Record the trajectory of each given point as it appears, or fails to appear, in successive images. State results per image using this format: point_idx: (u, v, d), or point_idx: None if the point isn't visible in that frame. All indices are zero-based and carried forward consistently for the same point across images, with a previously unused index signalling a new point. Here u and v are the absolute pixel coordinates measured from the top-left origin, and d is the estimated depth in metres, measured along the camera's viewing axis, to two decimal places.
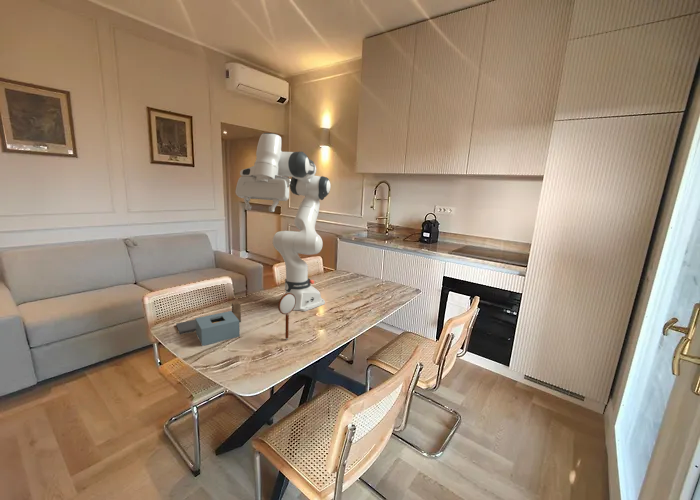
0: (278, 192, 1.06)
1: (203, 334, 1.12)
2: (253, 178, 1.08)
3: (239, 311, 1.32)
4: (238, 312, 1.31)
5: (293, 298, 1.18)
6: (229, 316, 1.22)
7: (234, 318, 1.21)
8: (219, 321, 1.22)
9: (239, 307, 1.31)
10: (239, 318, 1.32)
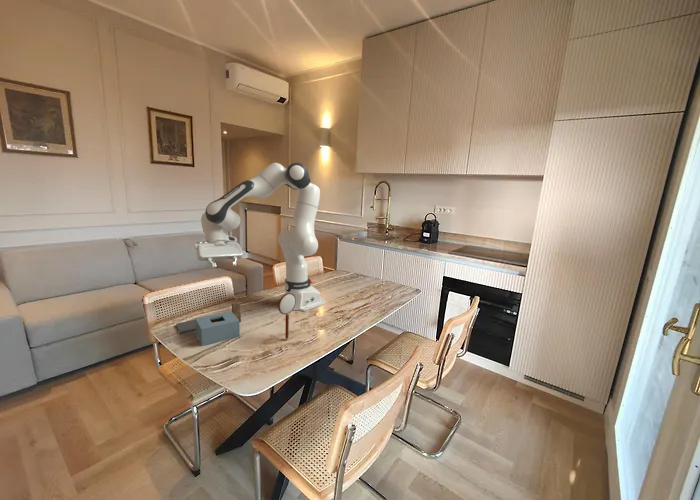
0: None
1: (203, 334, 1.12)
2: None
3: (239, 311, 1.32)
4: (238, 312, 1.31)
5: (293, 298, 1.18)
6: (229, 316, 1.22)
7: (234, 318, 1.21)
8: (219, 321, 1.22)
9: (239, 307, 1.31)
10: (239, 318, 1.32)
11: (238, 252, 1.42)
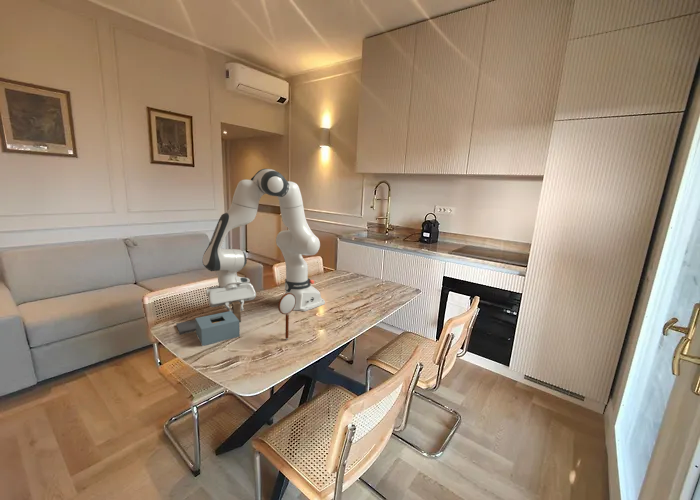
0: None
1: (203, 334, 1.12)
2: None
3: (239, 311, 1.32)
4: (238, 312, 1.31)
5: (293, 298, 1.18)
6: (229, 316, 1.22)
7: (234, 318, 1.21)
8: (219, 321, 1.22)
9: (239, 307, 1.31)
10: (239, 318, 1.32)
11: (251, 294, 1.38)
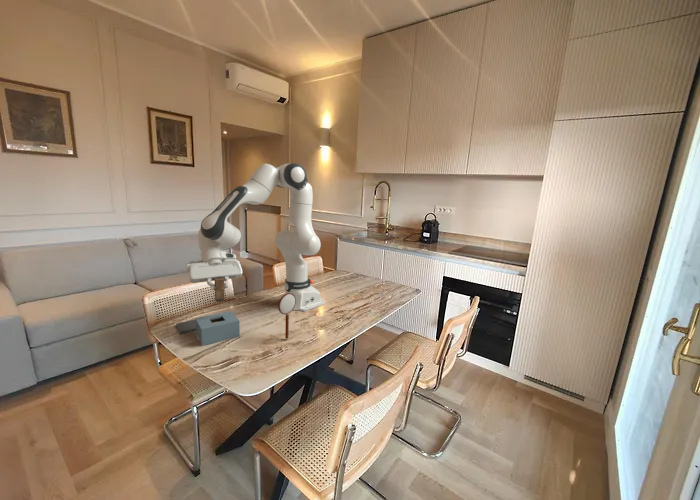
0: None
1: (203, 334, 1.12)
2: None
3: (223, 288, 1.19)
4: (221, 289, 1.19)
5: (293, 298, 1.18)
6: (229, 316, 1.22)
7: (234, 318, 1.21)
8: (219, 321, 1.22)
9: (223, 284, 1.19)
10: (222, 296, 1.20)
11: (236, 271, 1.25)
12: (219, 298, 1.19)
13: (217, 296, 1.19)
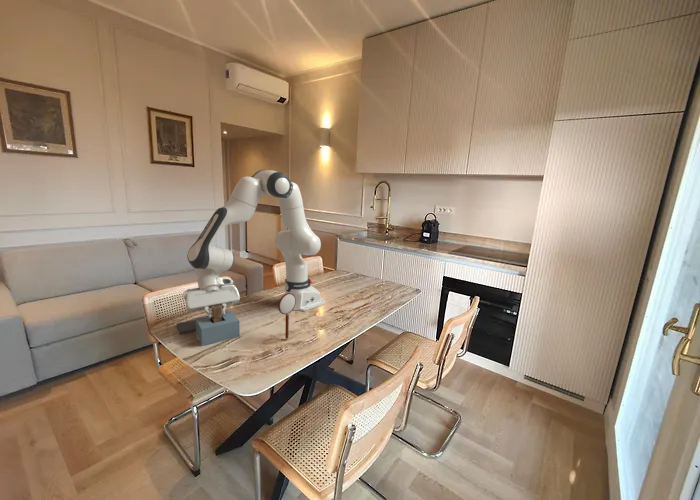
0: None
1: (203, 334, 1.12)
2: None
3: (220, 316, 1.18)
4: (219, 317, 1.18)
5: (293, 298, 1.18)
6: (229, 316, 1.22)
7: (234, 318, 1.21)
8: None
9: (220, 311, 1.18)
10: None
11: (234, 297, 1.24)
12: None
13: None
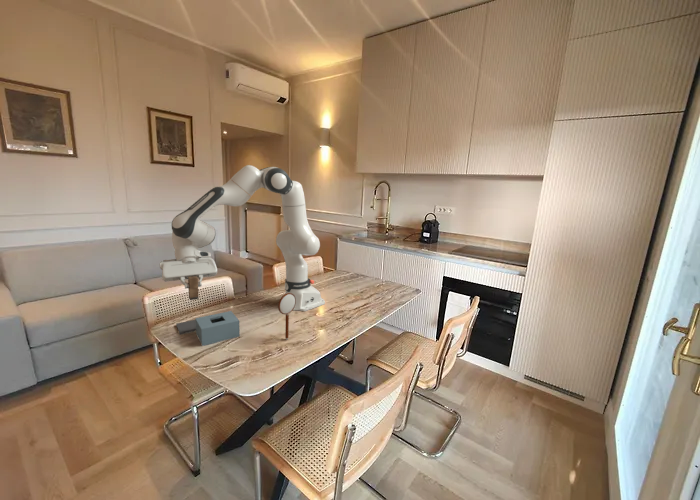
0: None
1: (203, 334, 1.12)
2: None
3: (196, 286, 1.19)
4: (195, 288, 1.19)
5: (293, 298, 1.18)
6: (229, 316, 1.22)
7: (234, 318, 1.21)
8: None
9: (196, 282, 1.19)
10: (196, 294, 1.20)
11: (211, 269, 1.25)
12: (193, 296, 1.19)
13: (191, 294, 1.19)
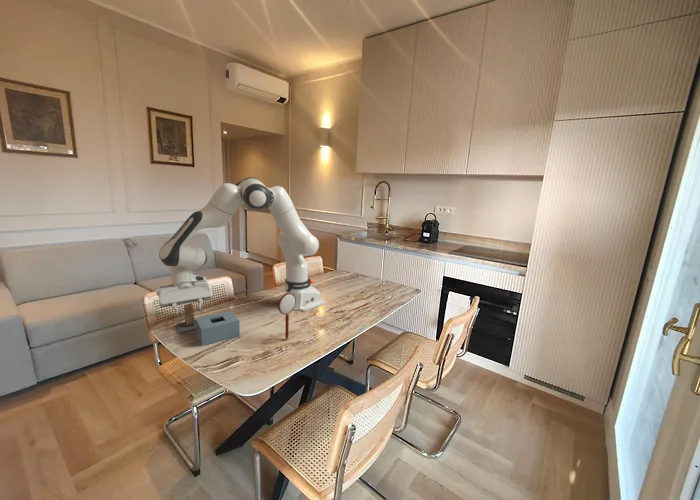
0: None
1: (203, 334, 1.12)
2: None
3: (192, 314, 1.24)
4: (191, 315, 1.24)
5: (293, 298, 1.18)
6: (229, 316, 1.22)
7: (234, 318, 1.21)
8: None
9: (192, 310, 1.24)
10: (192, 321, 1.25)
11: (206, 293, 1.30)
12: (189, 324, 1.24)
13: (187, 322, 1.23)
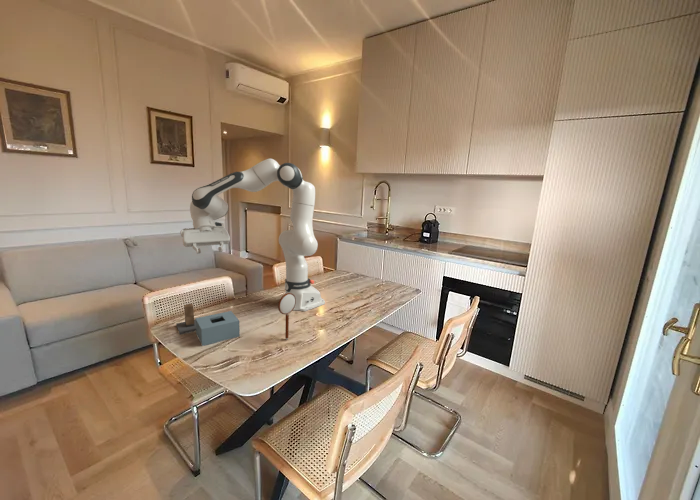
0: None
1: (203, 334, 1.12)
2: None
3: (192, 314, 1.24)
4: (191, 315, 1.24)
5: (293, 298, 1.18)
6: (229, 316, 1.22)
7: (234, 318, 1.21)
8: None
9: (192, 310, 1.24)
10: (192, 321, 1.25)
11: (225, 237, 1.42)
12: (189, 324, 1.24)
13: (187, 322, 1.23)
